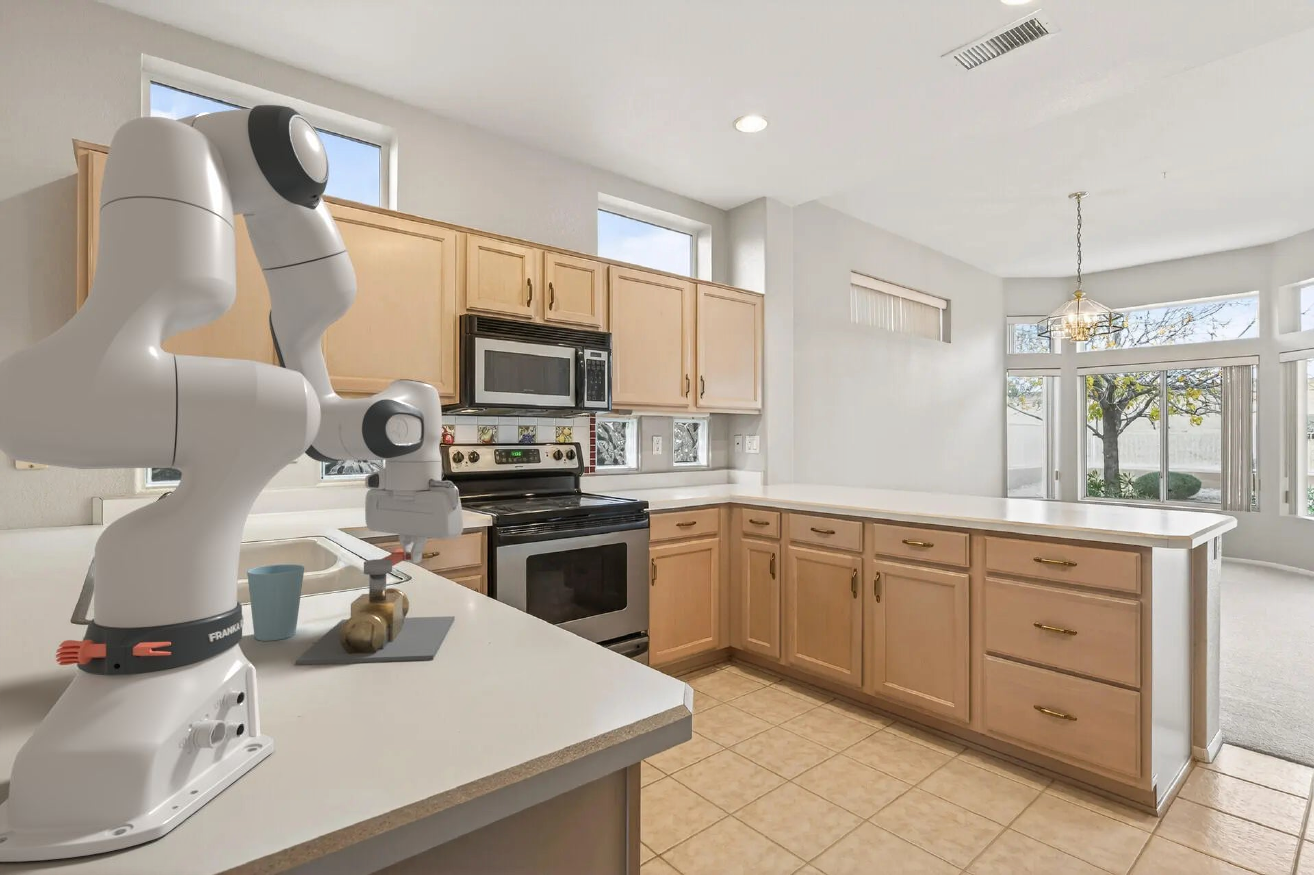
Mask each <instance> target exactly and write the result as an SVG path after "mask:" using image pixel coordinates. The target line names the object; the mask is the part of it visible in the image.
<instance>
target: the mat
mask: <svg viewBox="0 0 1314 875" xmlns="http://www.w3.org/2000/svg"><path fill="white" fill-rule="evenodd" d="M348 619H349V618H347V619H346V618H345V619H341V620H340V621H339V622H338V623H337V624H335V625H334V626H333V627H332V628H331V629H329V631H328V632H327V633H325V634H324V635H323V636H322V637H320V638H319V639H318V640H317V641H316V642H315V643H314V644H313V645H311V646H310V647H309V648H308V649H307V650H306V651H304V652H303V653H302V654H301V655H300V656H299V657H297V659H295V663H294V664H295V665H296V666H297V665H298V666H299V665H323V664H326V665H327V664H348V663H349V664H350V663H351V664H352V663H353V664H354V663H379V662H402V661H403V662H404V661H405V662H406V661H426V660H427V661H431V660H434V659H435V657H436V655H437V653H438V652H439V649H440V648H441V645H442V643H443V642H444V640H445V638H446V636H447V635H448V632H449V631H450V629H451V627H452V626H453V623H454V622H455V616H426V617H425V616H422V617H419V616H418V617H417V616H416V617H405V618H404V624H403V625H402V631H401V632H400V633H399V634H398V636H397V637H396V638H395V639H394V641H393V642H389V643H388V644H387V645H386V646H385V648H384V649H378V650H377V651H376V652H375V653H357V654H349V653H348V652H346V651H345V650H344V648H343V647H342V645H341V643H340V630H341V628H342V626H343V624H344V623H345V622H346V621H347V620H348Z"/></svg>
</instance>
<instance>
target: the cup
mask: <svg viewBox="0 0 1314 875" xmlns="http://www.w3.org/2000/svg"><path fill="white" fill-rule="evenodd" d="M304 572H305V566H304V565H301V564H291V563H287V564H286V563H285V564H283V563H281V564H271V565H270V564H269V565H262V566H257V567H253V568H251V569H248V570H247V571H246V574H247V583H248V584H247V585H248V591H249V600H250V608H251V618H252V626H253V627H252V628H253V635H254V639H255V640H257V641H260V642H261V641H262V642H270V641H273V642H274V641H279V640H284V639H288V638H291V637H293V636H295V635H296V634H297V633H296V632H297V627H298V626H297V625H298V618H299V610H300V603H301V598H302V596H301V595H302V588H303V579H304Z"/></svg>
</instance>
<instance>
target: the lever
mask: <svg viewBox="0 0 1314 875" xmlns="http://www.w3.org/2000/svg"><path fill="white" fill-rule="evenodd" d="M401 562H405V561H404V551H403V549H402V547H401V548H398V549H396V550H394V551H392V552H391V554H389V555H387V556H385V557H383V558H379V559H378V558H377V559H370V560H365V561H364V562H363V575H368V576H369V575H381V574H386V575H388V574H390V573H392V572H393V567H394V566H396V565H397V564H399V563H401Z"/></svg>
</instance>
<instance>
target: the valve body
mask: <svg viewBox="0 0 1314 875" xmlns="http://www.w3.org/2000/svg"><path fill="white" fill-rule="evenodd" d="M368 579H369V580H368V582H369V583H368V586H369V587H368V588H369V589H368V593H362V594H361V595H359V597H357V598H356V599H355V600H354V601H352V602H351V603H350V617H349V618H347V619H348V620H347V621H346V622H345V623H344V624H343V626H342V628H341V630H340V643H341V645H342V647H343V648H344V650H345V651H346V652H348V653H349V654H357V653H375V652H376V651H377V650H378V649H384V648H385V646H386V645H387V644H388V643H389V642H393V641H394V639H395V638H396V637H397V636H398V634H399V633H400V632H401V631H402V625H403V624H404V618H406V616H407V614H409V609H410V602H409V598H408V596H407V594H405V593H404V592H403V591H402V590H400V589H397V588H394V587H389V588H387V574H381V575H368Z"/></svg>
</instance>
